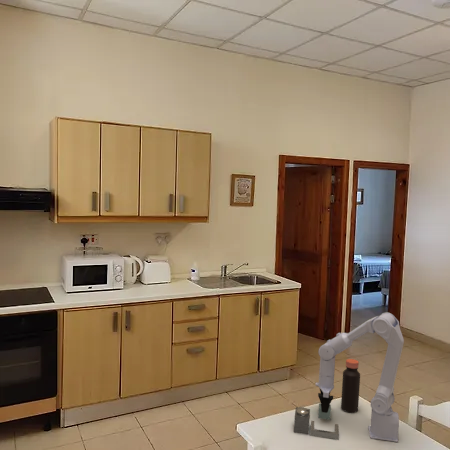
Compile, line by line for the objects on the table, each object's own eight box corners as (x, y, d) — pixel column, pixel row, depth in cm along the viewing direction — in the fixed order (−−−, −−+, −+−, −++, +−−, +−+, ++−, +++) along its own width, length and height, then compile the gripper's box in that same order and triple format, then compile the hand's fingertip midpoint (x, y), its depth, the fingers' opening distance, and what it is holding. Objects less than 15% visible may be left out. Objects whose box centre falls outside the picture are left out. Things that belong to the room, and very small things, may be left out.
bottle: (349, 414, 177) (352, 365, 176) (337, 407, 183) (340, 359, 181) (361, 411, 180) (364, 362, 179) (349, 403, 186) (352, 357, 185)
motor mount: (338, 428, 166) (339, 410, 165) (338, 439, 158) (339, 420, 158) (295, 422, 169) (295, 404, 168) (293, 433, 161) (294, 414, 161)
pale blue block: (330, 414, 177) (330, 402, 176) (330, 420, 172) (331, 407, 172) (318, 412, 178) (319, 400, 177) (318, 418, 173) (319, 405, 173)
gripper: (316, 365, 182) (314, 397, 183) (315, 379, 167) (313, 414, 168) (334, 367, 180) (332, 400, 181) (335, 382, 166) (333, 417, 167)
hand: (324, 407), depth 175 cm, fingers open, 7 cm apart
